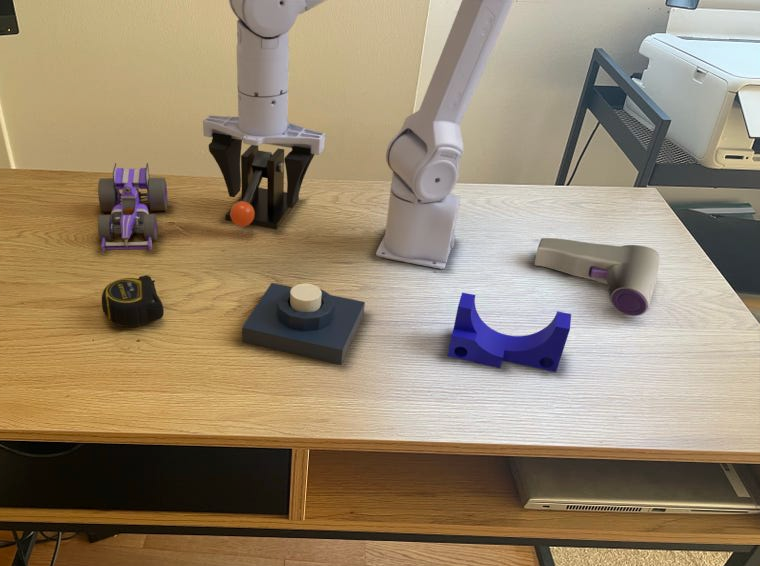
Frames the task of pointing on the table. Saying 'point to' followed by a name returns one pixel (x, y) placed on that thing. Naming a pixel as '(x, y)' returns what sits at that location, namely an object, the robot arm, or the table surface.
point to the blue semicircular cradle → (506, 340)
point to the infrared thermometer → (607, 269)
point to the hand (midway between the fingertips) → (263, 198)
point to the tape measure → (132, 301)
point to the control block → (304, 325)
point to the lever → (251, 191)
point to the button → (305, 297)
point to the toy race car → (130, 207)
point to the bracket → (265, 190)
